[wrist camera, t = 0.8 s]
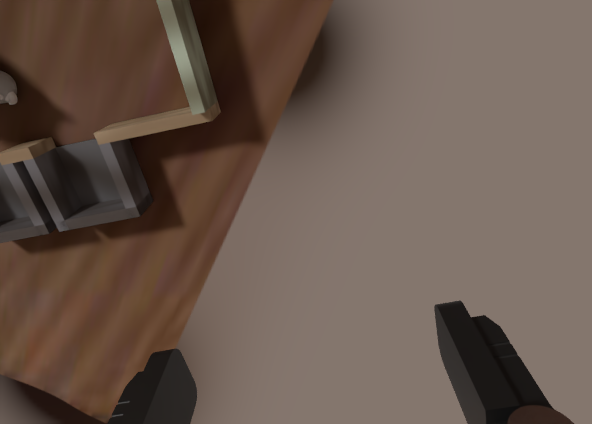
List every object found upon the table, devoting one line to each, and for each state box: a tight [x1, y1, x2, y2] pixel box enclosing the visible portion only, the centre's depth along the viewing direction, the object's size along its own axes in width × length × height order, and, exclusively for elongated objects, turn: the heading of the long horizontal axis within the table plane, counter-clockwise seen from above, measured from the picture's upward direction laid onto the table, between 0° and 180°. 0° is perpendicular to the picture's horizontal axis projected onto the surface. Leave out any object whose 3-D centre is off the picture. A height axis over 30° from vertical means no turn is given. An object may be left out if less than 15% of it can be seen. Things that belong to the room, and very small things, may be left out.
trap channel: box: [0, 0, 221, 243], centre depth 33 cm, size 24×32×5 cm
